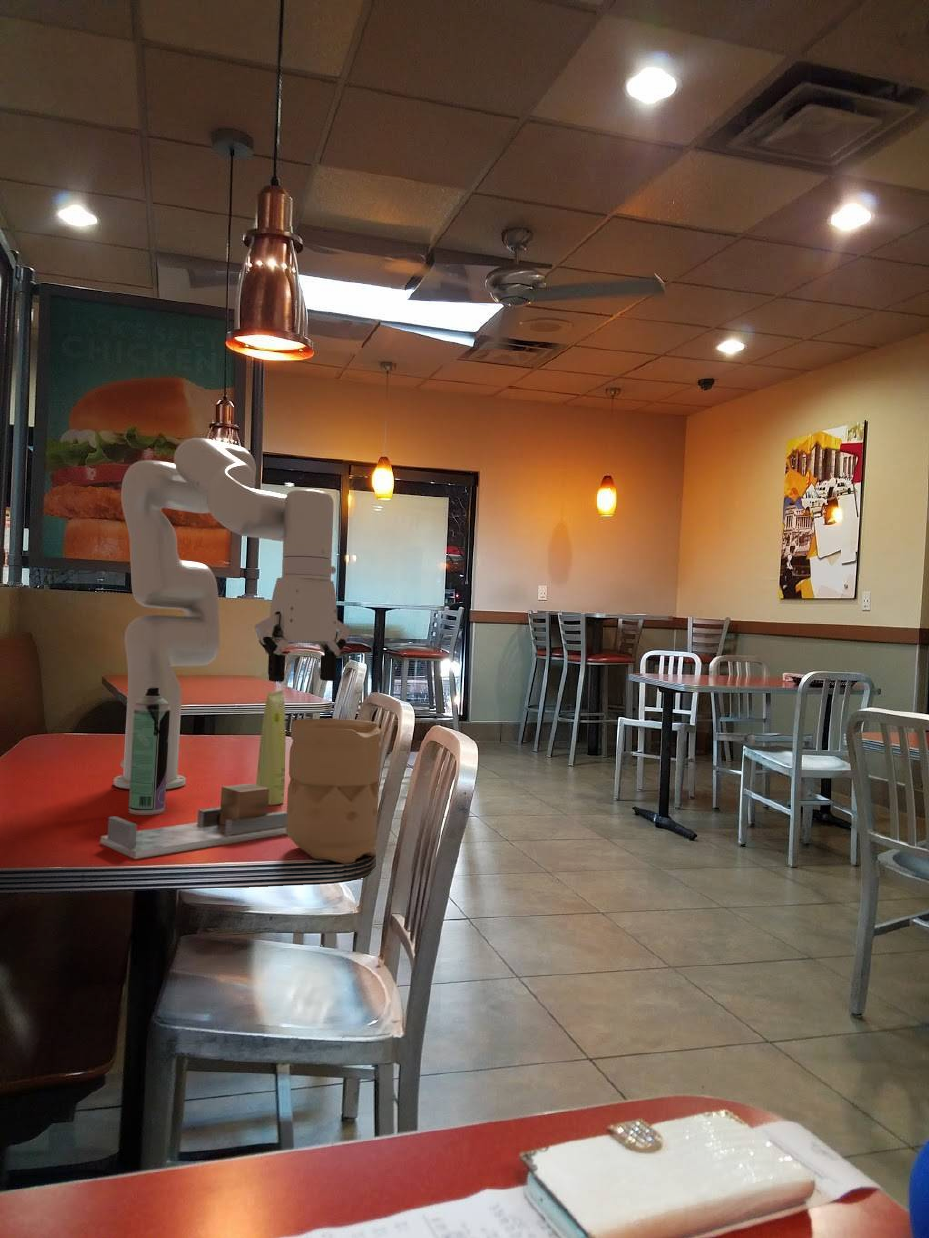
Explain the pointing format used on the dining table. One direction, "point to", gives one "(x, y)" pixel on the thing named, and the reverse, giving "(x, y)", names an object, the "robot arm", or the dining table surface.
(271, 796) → the tube
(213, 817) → the chute
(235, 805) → the block
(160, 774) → the spray can
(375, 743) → the container
